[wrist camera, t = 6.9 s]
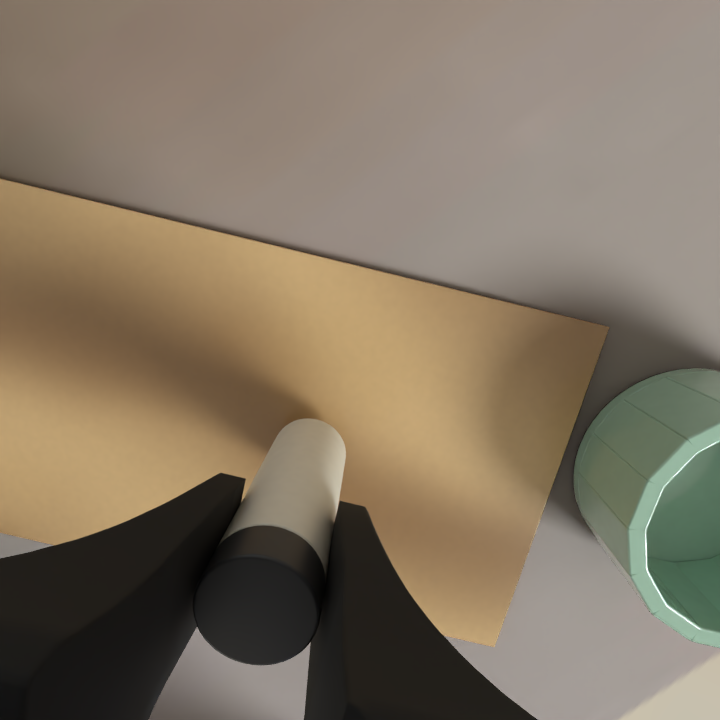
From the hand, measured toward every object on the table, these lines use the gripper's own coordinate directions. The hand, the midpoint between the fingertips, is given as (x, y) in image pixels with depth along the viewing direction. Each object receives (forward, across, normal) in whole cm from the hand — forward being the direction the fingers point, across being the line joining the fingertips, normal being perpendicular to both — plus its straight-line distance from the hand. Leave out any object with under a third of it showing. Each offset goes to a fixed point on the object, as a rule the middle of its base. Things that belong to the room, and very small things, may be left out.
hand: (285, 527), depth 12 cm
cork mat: (+5, +2, 0) cm, 6 cm away
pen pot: (+5, -12, -2) cm, 13 cm away
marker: (+4, 0, 0) cm, 4 cm away
